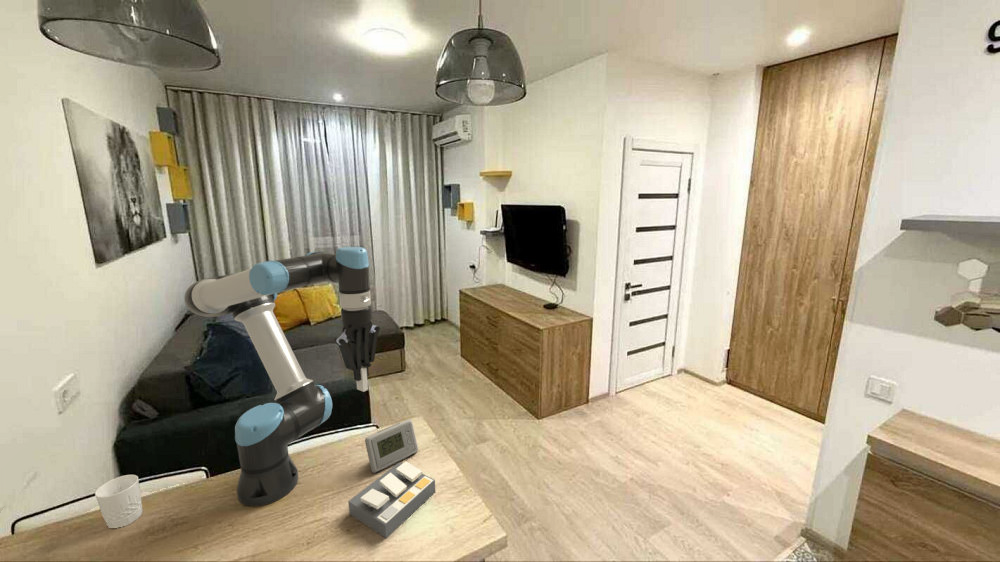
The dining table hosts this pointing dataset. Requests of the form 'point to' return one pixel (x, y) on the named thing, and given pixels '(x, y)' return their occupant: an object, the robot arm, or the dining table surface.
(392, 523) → the panel
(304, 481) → the dining table surface
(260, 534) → the dining table surface
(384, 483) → the switch
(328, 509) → the dining table surface
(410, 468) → the switch
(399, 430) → the digital clock
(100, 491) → the white cup
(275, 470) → the robot arm
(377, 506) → the switch
